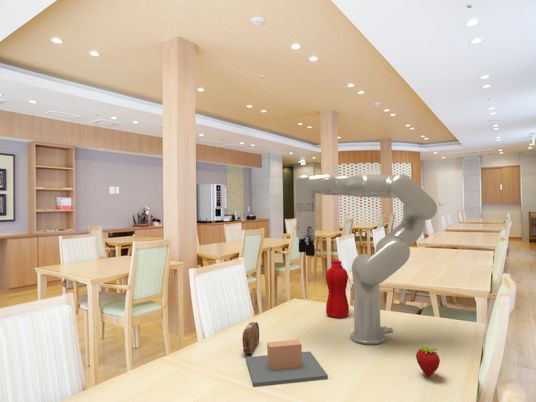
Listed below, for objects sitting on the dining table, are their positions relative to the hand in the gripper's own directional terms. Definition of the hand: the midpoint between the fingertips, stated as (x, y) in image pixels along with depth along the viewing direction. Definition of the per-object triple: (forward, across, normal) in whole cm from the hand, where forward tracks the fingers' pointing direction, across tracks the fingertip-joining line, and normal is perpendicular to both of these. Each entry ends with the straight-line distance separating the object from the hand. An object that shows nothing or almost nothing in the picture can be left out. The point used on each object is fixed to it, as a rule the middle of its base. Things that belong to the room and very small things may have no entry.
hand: (306, 253), depth 141 cm
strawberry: (+32, +36, +26) cm, 55 cm away
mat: (+32, +22, -14) cm, 42 cm away
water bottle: (+32, -25, +22) cm, 47 cm away
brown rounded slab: (+33, +4, -22) cm, 40 cm away
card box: (+31, +22, -14) cm, 41 cm away
